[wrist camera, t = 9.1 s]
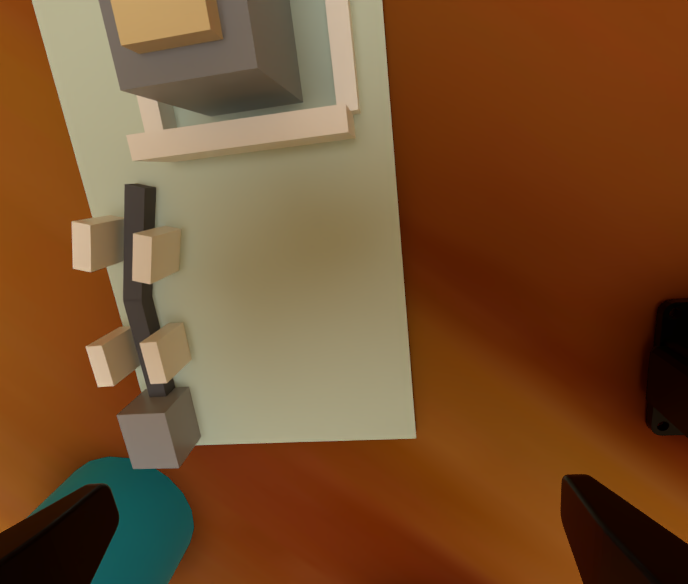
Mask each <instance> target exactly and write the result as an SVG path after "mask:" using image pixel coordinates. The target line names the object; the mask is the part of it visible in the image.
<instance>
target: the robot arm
mask: <svg viewBox="0 0 688 584" xmlns="http://www.w3.org/2000/svg"><path fill="white" fill-rule="evenodd" d="M674 308H676V312H675V314H673V315H672V316H669V313H670V311H671V310H672V309H674ZM646 400H647V401H648V408H647V419H646V423H647V426H648V427H649V428H650V429H651V430H652V431H653V432H654V433H655V434H657V435H662V436H663V435H685V436H686V437H687V438H688V298H687V299H673V300H667V301H665V302H663V303H661V305H660V306H659V307H658V310H657V317H656V327H655V337H654V347H653V349H652V350H651V352H650V359H649V370H648V380H647V391H646ZM663 421H664V422H663ZM660 422H663V424H661V425H659V426H657V425H658V424H659V423H660ZM561 519H562V523H563V527H564V530H565V532H566V535H567V538H568V541H569V544H570V547H571V550H572V552H573V555H574V558H575V561H576V564H577V567H578V570H579V573H580V575H581V578H582V581H583V584H688V544H687V543H685V542H684V541H683V540H681V539H680V538H678V537H677V536H675V535H674V534H673V533H671V532H670V531H668V530H667V529H665V528H664V527H663V526H661V525H660V524H658V523H657V522H655V521H654V520H653V519H651V518H650V517H648V516H647V515H645V514H644V513H643V512H641V511H640V510H638V509H637V508H635V507H634V506H633V505H631V504H630V503H628V502H627V501H625V500H624V499H622V498H621V497H620V496H618V495H617V494H615V493H614V492H612V491H611V490H610V489H608V488H607V487H605V486H604V485H602V484H601V483H600V482H598V481H597V480H595V479H594V478H592V477H591V476H589V475H585V474H572V475H565V476H564V477H563V479H562V486H561ZM118 524H119V512H118V509H117V506H116V503H115V500H114V497H113V493H112V490H111V488H110V487H109V486H108V485H107V484H104V483H96V484H87V485H84V486H83V487H81V488H79V489H77V490H75V491H74V492H72V493H70V494H68V495H67V496H65V497H63V498H61V499H60V500H58V501H56V502H54V503H53V504H51V505H49V506H47V507H46V508H44V509H42V510H40V511H38V512H37V513H35V514H33V515H31V516H30V517H28V518H26V519H24V520H23V521H21V522H19V523H17V524H16V525H14V526H12V527H10V528H9V529H7V530H5V531H3V532H1V533H0V584H91V582H92V580H93V578H94V576H95V573H96V571H97V569H98V567H99V565H100V563H101V561H102V559H103V557H104V555H105V553H106V550H107V548H108V546H109V544H110V542H111V540H112V538H113V536H114V534H115V532H116V530H117V527H118Z"/></svg>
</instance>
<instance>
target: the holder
mask: <svg viewBox="0 0 688 584" xmlns="http://www.w3.org/2000/svg"><path fill="white" fill-rule="evenodd" d="M325 5H326V14H327V23H328V32H329V41H330V50H331V59H332V68H333V77H334V86H335V95H336V104H337V105H332V106H325V107H318V108H311V109H304V110H297V111H290V112H283V113H276V114H269V115H262V116H255V117H248V118H241V119H234V120H227V121H220V122H213V123H206V124H199V125H192V126H185V127H178V128H177V124H176V119H175V115H174V110H173V106H172V105H169V104H165V103H162V102H158V101H155V100H152V99H148V98H145V97H141V96H138V95H136V96H137V100H138V105H139V109H140V113H141V118H142V122H143V126H144V131H145V132H144V133H137V134H130V135H126V137H127V141H128V145H129V149H130V153H131V158H132V161H147V162H180V161H187V160H195V159H202V158H210V157H218V156H225V155H233V154H240V153H248V152H256V151H263V150H271V149H278V148H286V147H294V146H301V145H309V144H317V143H324V142H332V141H339V140H347V139H355V138H356V136H355V126H354V117H353V115H355V114H361V112H360V101H359V91H358V80H357V70H356V60H355V49H354V39H353V29H352V18H351V8H350V0H325Z"/></svg>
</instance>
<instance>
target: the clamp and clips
mask: <svg viewBox="0 0 688 584" xmlns="http://www.w3.org/2000/svg"><path fill="white" fill-rule="evenodd" d="M180 241H181V229H179V228H174V227H169V226H161V227H157V228H153V229H149V230H145V231H141V232H137V233H133V261H132V281H136V282H141V283H146V284H152V283H154V282H157V281H159V280H161V279H163V278H165V277H167V276H169V275H171V274H173V273H175V272H177V271H179V259H180ZM72 254H73V269H77V270H82V271H87V272H93V271H96V270H99V269H102V268H105V267H108V266H111V265H114V264H117V263H119V262H122V261H124V218H123V217H118V216H113V215H107V216H101V217H95V218H89V219H83V220H77V221H72ZM139 344H140V347H141V351H142V355H143V358H144V362H145V366H146V369H147V373H148V377H149V380H150V384H162V383H168V382H169V381H170V380H171V379H172V378H173V377H174V376H175V375H176V374H177V373H178V372H179V371H180V370H181V369H182V368H183V367H185V366H186V365H187V364H188V363H189V362H190V361H191V360H192V358H191V354H190V350H189V345H188V341H187V337H186V333H185V329H184V324H183V322H179V323H168V324H166V325H165V326H163V327H162V328H160V329H159V330H157V331H156V332H155V333H153V334H152V335H150V336H149V337H147V338H146V339H144V340H143V341H142V342H140V343H139ZM86 350H87V353H88V356H89V360H90V363H91V366H92V369H93V372H94V376H95V379H96V382H97V385H98V387H105V386H115V385H116V384H117V383H118V382H120V381H121V380H122V379H124V378H125V377H126V376H127V375H129V374H130V373H131V372H132V371H134V370H135V369H136V368H138V367H139V366H140V361H139V357H138V354H137V350H136V346H135V343H134V339H133V335H132V332H131V328H130V326H125V327H118V328H117V329H115V330H113V331H112V332H110V333H108V334H106V335H105V336H103V337H101V338H100V339H98V340H96V341H94V342H93V343H91V344H89V345H88V346H86ZM117 418H118V421H119V424H120V428H121V431H122V434H123V438H124V441H125V444H126V448H127V451H128V454H129V457H130V461H131V464H132V467H133V469H160V468H180V466H181V465H182V463H183V462H184V461H185V459H186V458H187V456H188V455H189V453H190V452H191V451H192V449H193V448H194V446H195V445H196V444H197V442H198V441H199V439H200V438H201V434H200V430H199V426H198V422H197V418H196V413H195V409H194V405H193V401H192V397H191V393H190V389H189V387H175V388H174V389H173V390H172V391H171V392H170V393H169V394H168V395H167V396H166V397H149V394H148V390H147V389H145V390H144V391H143V392H142V393H141V394H140V395H139V396H137V397H136V398H135V399H134V400H133V401H132V402H131V403H130V404H128V405H127V406H126V407H125V408H124V409H123V410H122V411H121V412H120V413H118V414H117Z"/></svg>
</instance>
